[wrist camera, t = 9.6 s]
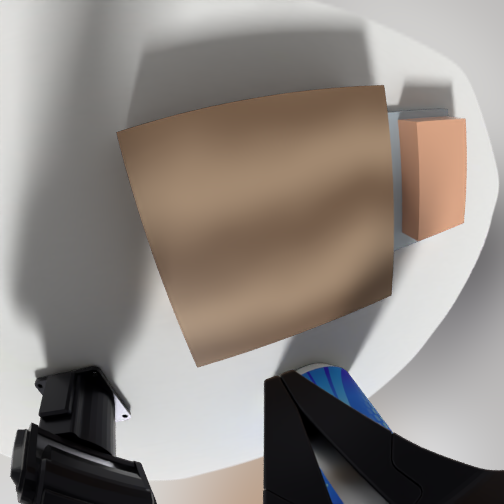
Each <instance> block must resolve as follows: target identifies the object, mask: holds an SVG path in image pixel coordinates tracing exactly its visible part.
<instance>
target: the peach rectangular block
mask: <svg viewBox="0 0 504 504" xmlns="http://www.w3.org/2000/svg"><path fill="white" fill-rule="evenodd" d="M398 127H399V139H400V154H401V174H402V233H404V234H406V235H408V236H409V237H411V238H413V239H415V240H416V241H420V240H423V239H426V238H428V237H431V236H433V235H436V234H438V233H441V232H443V231H445V230H448V229H450V228H453V227H455V226H458V225H460V224H463V223H464V214H465V199H466V173H467V146H466V120H465V119H463V118H457V117H450V116H442V117H425V118H412V119H400V120H398Z"/></svg>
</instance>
